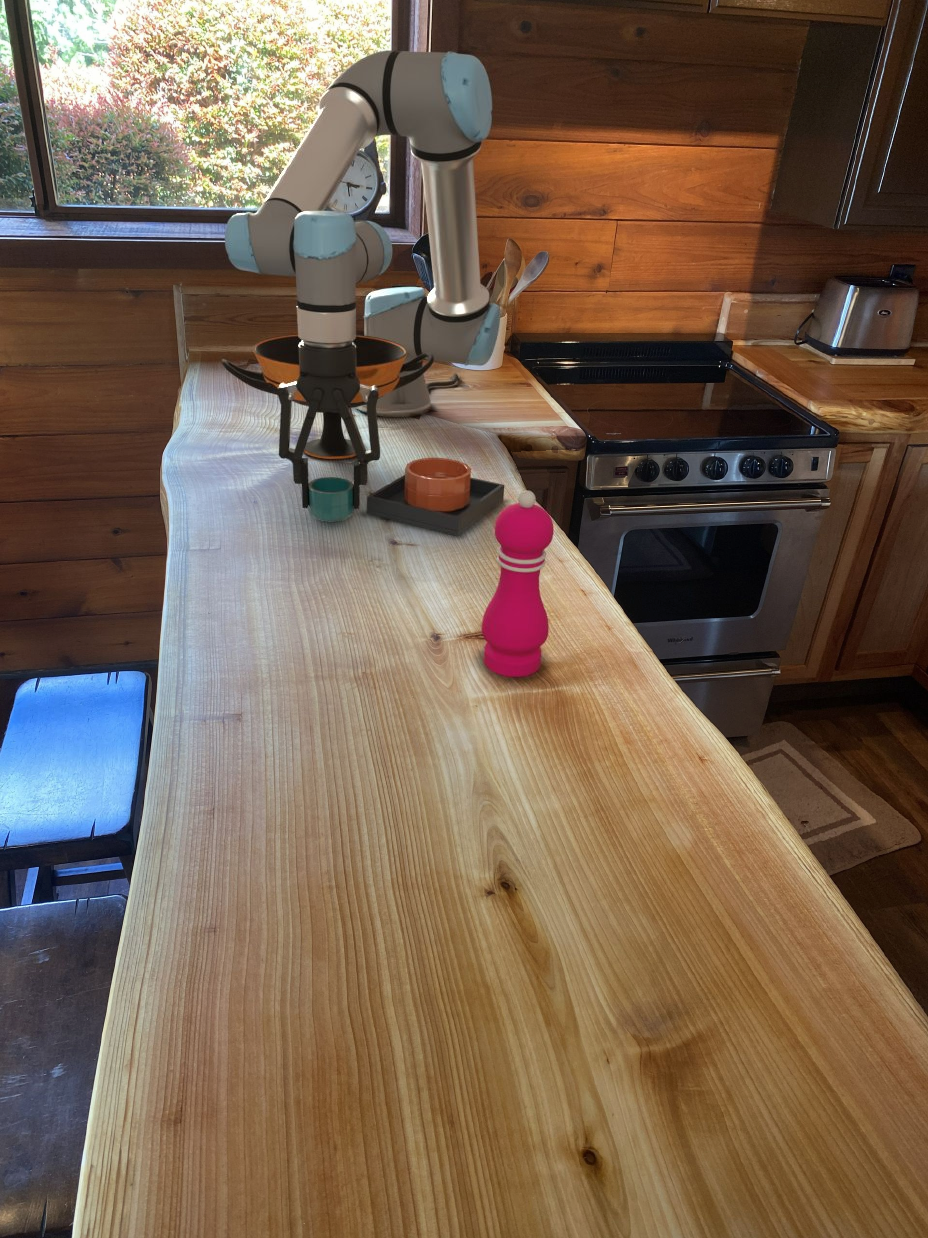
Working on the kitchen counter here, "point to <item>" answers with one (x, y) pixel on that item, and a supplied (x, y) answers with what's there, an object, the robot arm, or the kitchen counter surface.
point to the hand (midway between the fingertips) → (331, 504)
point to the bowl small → (331, 498)
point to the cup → (373, 368)
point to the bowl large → (437, 484)
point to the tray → (396, 508)
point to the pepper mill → (518, 590)
